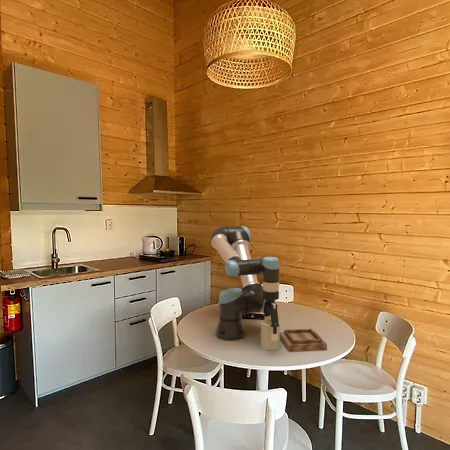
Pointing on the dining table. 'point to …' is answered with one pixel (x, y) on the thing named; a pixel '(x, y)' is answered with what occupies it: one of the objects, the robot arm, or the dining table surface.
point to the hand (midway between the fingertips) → (270, 334)
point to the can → (269, 336)
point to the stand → (302, 340)
